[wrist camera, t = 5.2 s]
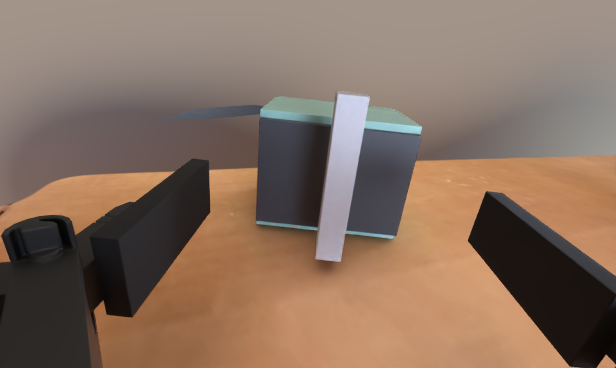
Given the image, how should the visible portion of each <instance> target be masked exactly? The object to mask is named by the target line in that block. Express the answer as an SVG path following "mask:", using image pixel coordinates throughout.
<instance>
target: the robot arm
mask: <svg viewBox="0 0 616 368" xmlns="http://www.w3.org/2000/svg"><path fill="white" fill-rule="evenodd" d="M209 213H210V188H209V161H208V160H199V159H191V160H190V161H189V162H187V163H186V164H185V165H183V166H182V167H181V168H179V169H178V170H177V171H175V172H174V173H173V174H171V175H170V176H169V177H167V178H166V179H165V180H163V181H162V182H161V183H160V184H158V185H157V186H156V187H154V188H153V189H152V190H150V191H149V192H148V193H146V194H145V195H144V196H142V197H141V198H140V199H138V200H137V201H136V202H128V203H125V204H123V205H120V206H118V207H115V208H114V209H112V210H111V211H109V212H108V213H107V214H105V216H102V217H101V218H100V219H98V220H97V221H96V223H92V224H91V225H90V226H88V227H87V228H85V229H84V230H83V231H81V232H80V233H78V234H77V235H76V236H75V233H74V229H73V225H72V221H71V220H70V218H68V217H65V216H62V215H47V216H39V217H34V218H30V219H26V220H24V221H21V222H18V223H16V224H14V225H12V226H10V227H9V228H7V229H5V231H4V232H3V233H2V235H1V236H2V239H3V242H4V244H5V247H6V250H7V253H8V255H9V258H10V261H11V262H3V263H0V368H103V367H102V360H101V353H100V346H99V339H98V332H97V325H96V318H95V314H94V309H95V308H96V307H97V306H98V305H99V304H100V303H101V302H102V301H103V300H104V305H105V309H106V314H107V315H114V316H123V317H133V316H134V315H135V313H136V312H137V310H138V309H139V308H140V306H141V305H142V304H143V302H144V301H145V300H146V298H147V297H148V296H149V294H150V293H151V291H152V290H153V289H154V287H155V286H156V285H157V283H158V282H159V281H160V279H161V278H162V277H163V275H164V274H165V273H166V271H167V270H168V268H169V267H170V266H171V264H172V263H173V262H174V260H175V259H176V258H177V256H178V255H179V254H180V252H181V251H182V250H183V248H184V247H185V245H186V244H187V243H188V241H189V240H190V239H191V237H192V236H193V235H194V233H195V232H196V231H197V229H198V228H199V227H200V225H201V224H202V222H203V221H204V220H205V218H206V217H207V216H208V214H209ZM468 242H469V243H470V244H471V245H472V247H473V248H474V249H475V250H476V251H477V253H478V254H479V255H480V256H481V258H482V259H483V260H484V261H485V263H486V264H487V265H488V266H489V267H490V269H491V270H492V271H493V272H494V274H495V275H496V276H497V277H498V279H499V280H500V281H501V282H502V284H503V285H504V286H505V287H506V288H507V290H508V291H509V292H510V293H511V295H512V296H513V297H514V298H515V300H516V301H517V302H518V303H519V304H520V306H521V307H522V308H523V309H524V311H525V312H526V313H527V314H528V316H529V317H530V318H531V319H532V321H533V322H534V323H535V324H536V325H537V327H538V328H539V329H540V330H541V332H542V333H543V334H544V335H545V337H546V338H547V339H548V340H549V341H550V343H551V344H552V345H553V346H554V348H555V349H556V350H557V351H558V353H559V354H560V355H561V356H562V357H563V359H564V360H565V361H566V362H567V364H568V365H569V366H571V367H580V368H597V366H598V365H599V363H600V362H601V361H602V359H603V358H604V356H605V355H607V356H608V357H609V358H610V359H611V360H612V361H613V362H614V363H615V364H616V276H615V275H613V274H612V273H611V272H609V271H608V270H606V269H605V268H604V267H602V266H601V265H600V264H598V263H597V262H596V261H594V260H593V259H591V258H590V257H589V256H587V255H586V254H585V253H583V252H582V251H581V250H579V249H578V248H576V247H575V246H574V245H572V244H571V243H570V242H568V241H567V240H566V239H564V238H563V237H561V236H560V235H559V234H557V233H556V232H555V231H553V230H552V229H551V228H549V227H548V226H546V225H545V224H544V223H542V222H541V221H540V220H538V219H537V218H536V217H534V216H533V215H531V214H530V213H529V212H527V211H526V210H525V209H523V208H522V207H521V206H519V205H518V204H516V203H515V202H514V201H512V200H511V199H510V198H508V197H507V196H506V195H504V194H503V193H497V192H488V191H486V193H485V196H484V198H483V201H482V204H481V206H480V209H479V212H478V214H477V217H476V220H475V222H474V225H473V228H472V231H471V233H470V236H469V239H468ZM615 368H616V367H615Z"/></svg>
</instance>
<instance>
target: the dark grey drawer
mask: <svg viewBox="0 0 616 368" xmlns="http://www.w3.org/2000/svg"><path fill="white" fill-rule="evenodd" d="M368 103H369V97H368V96H367V95H366V94H362V93H353V92H343V91H336V95H335V102H334V110H333V117H332V125H330V124H320V123H311V122H302V121H293V120H284V119H275V118H266V117H261V118H260V122H259V150H258V177H257V204H256V221H263V222H272V223H281V224H291V225H300V226H309V227H318V230H317V238H316V247H315V259H318V260H327V261H337V262H340V261H341V256H342V250H343V245H344V239H345V234H346V231H354V232H364V233H373V234H382V235H391V236H396V235H397V231H398V227H399V223H400V220H401V216H402V212H403V208H404V204H405V200H406V196H407V192H408V188H409V185H410V181H411V177H412V173H413V169H414V165H415V161H416V157H417V154H418V150H419V146H420V142H421V138H422V136H420V135H419V134H411V133H402V132H393V131H384V130H375V129H366V128H364V126H365V121H366V115H367V109H368Z"/></svg>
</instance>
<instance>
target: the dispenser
mask: <svg viewBox="0 0 616 368" xmlns="http://www.w3.org/2000/svg"><path fill="white" fill-rule="evenodd" d="M333 110H334V102H327V101H318V100H309V99H299V98H290V97H281V96H277V97H275V98H274V99H273V100H271V102H269V103H268V104H266V105H265V106H264V107H263V108H261V109H260V118H261V117H266V118H275V119H284V120H293V121H302V122H311V123H320V124H330V125H332V117H333ZM364 128H366V129H375V130H384V131H393V132H402V133H411V134H419V135H420V132H421V129H422V127H421V126H419V125H418V124H417V123H415V122H413V121H412V120H411V119H409V118H408V117H406V116H404V115H403V114H401V113H400V112H398V111H397V110H395V109H390V108H381V107H372V106H368V109H367V115H366V121H365V126H364ZM256 224H263V225H272V226H281V227H290V228H299V229H308V230H318V227H309V226H300V225H291V224H281V223H272V222H263V221H256ZM346 234H354V235H363V236H372V237H381V238H391V239H394V236H391V235H382V234H373V233H364V232H354V231H346Z"/></svg>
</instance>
